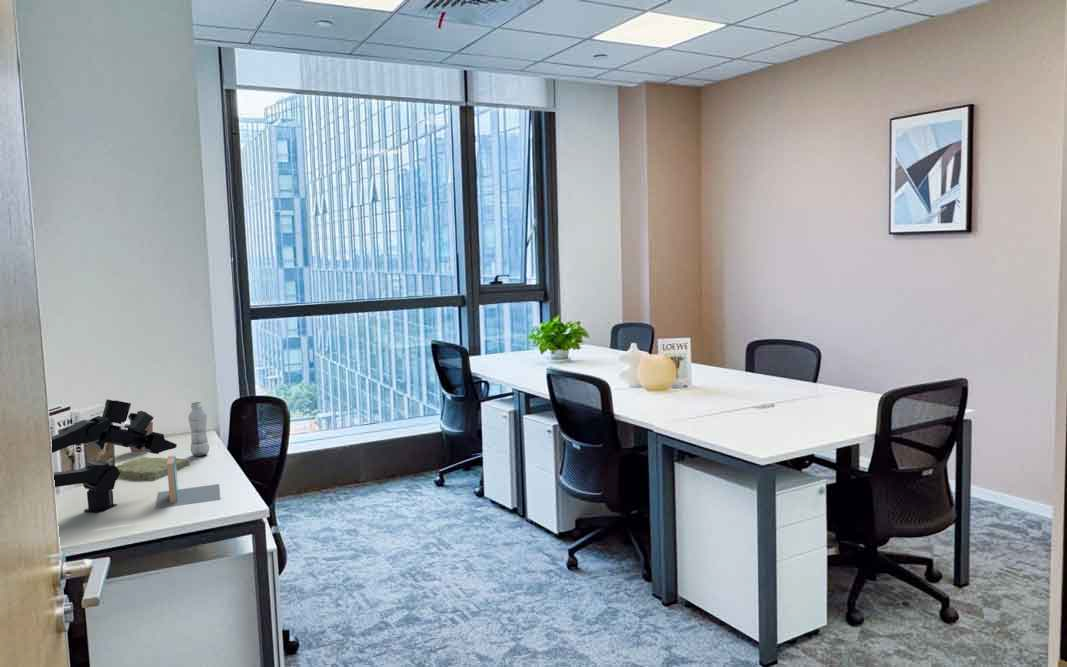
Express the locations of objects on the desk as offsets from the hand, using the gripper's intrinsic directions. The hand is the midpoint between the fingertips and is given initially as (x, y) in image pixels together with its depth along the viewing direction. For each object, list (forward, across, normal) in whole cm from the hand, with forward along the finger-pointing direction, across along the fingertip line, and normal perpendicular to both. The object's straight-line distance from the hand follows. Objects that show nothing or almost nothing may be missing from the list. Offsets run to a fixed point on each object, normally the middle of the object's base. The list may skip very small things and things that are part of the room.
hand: (169, 444), depth 249 cm
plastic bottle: (+32, +34, +4) cm, 47 cm away
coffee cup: (+23, +60, +7) cm, 65 cm away
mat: (+4, -12, +14) cm, 19 cm away
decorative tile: (+12, +29, +12) cm, 34 cm away
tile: (+1, -10, +15) cm, 18 cm away
